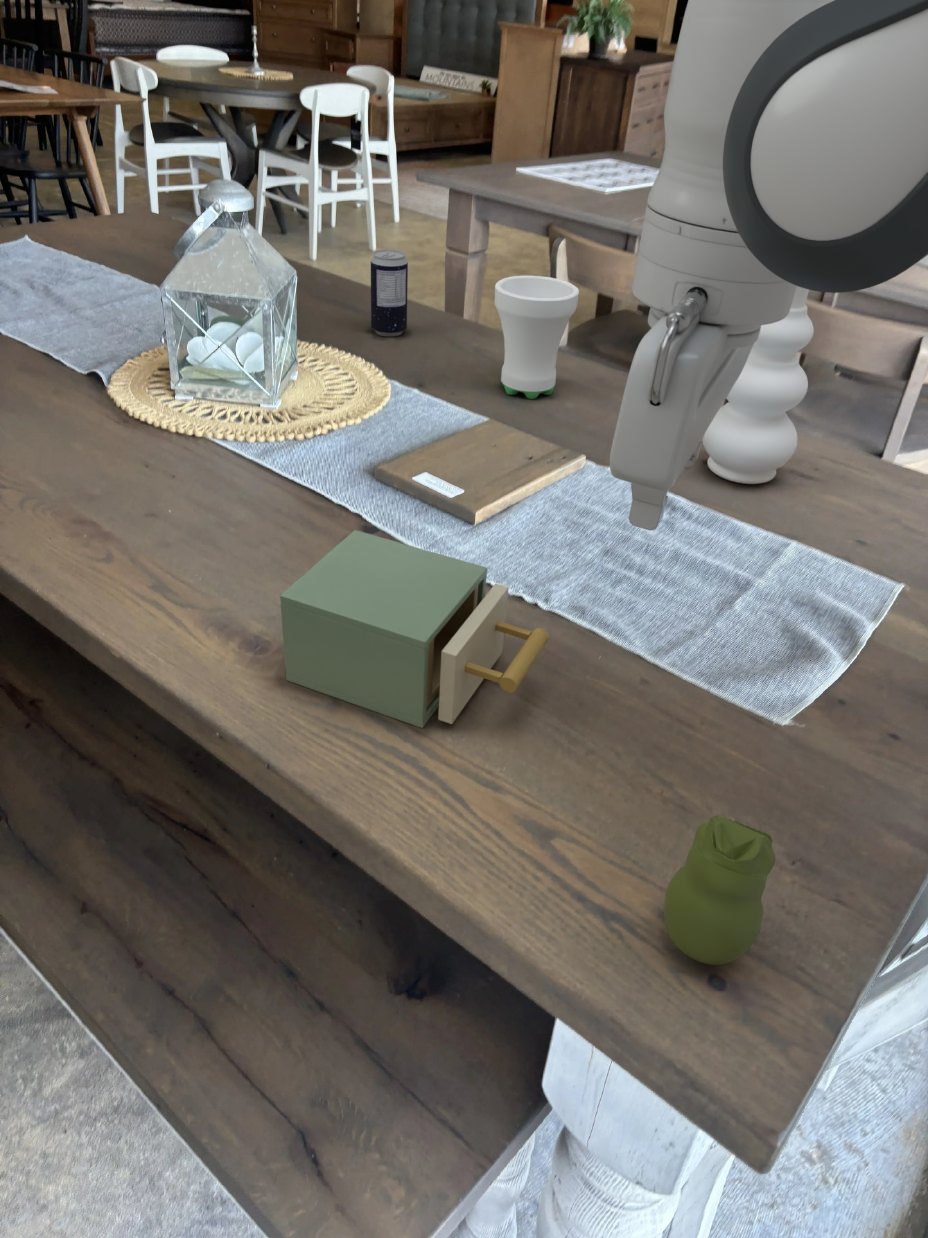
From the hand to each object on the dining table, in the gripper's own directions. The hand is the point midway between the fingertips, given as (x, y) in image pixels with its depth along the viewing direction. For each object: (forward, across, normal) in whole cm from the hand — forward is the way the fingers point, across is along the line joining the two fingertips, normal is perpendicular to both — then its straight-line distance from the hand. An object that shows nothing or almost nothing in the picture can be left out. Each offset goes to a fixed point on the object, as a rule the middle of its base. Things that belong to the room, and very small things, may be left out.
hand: (664, 491), depth 58 cm
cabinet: (+22, -1, +19) cm, 29 cm away
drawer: (+21, -1, +14) cm, 25 cm away
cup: (+22, +63, +32) cm, 74 cm away
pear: (+21, -16, -11) cm, 28 cm away
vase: (+22, +52, -1) cm, 57 cm away
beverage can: (+23, +74, +60) cm, 98 cm away
